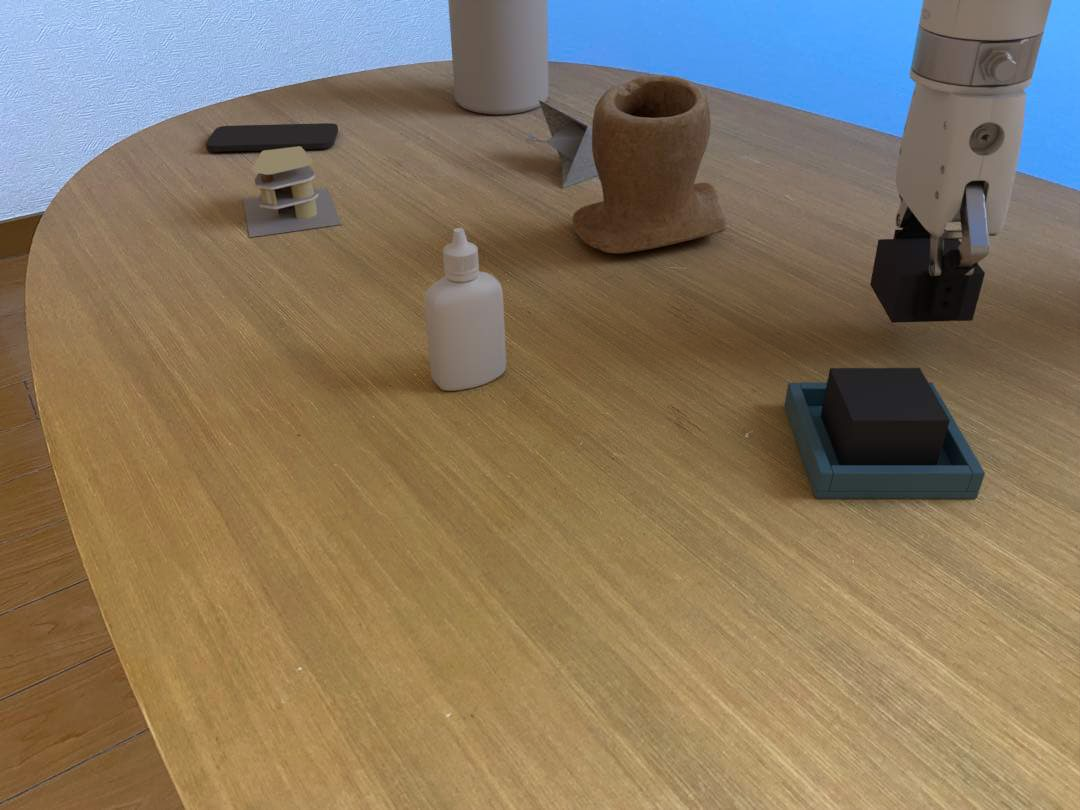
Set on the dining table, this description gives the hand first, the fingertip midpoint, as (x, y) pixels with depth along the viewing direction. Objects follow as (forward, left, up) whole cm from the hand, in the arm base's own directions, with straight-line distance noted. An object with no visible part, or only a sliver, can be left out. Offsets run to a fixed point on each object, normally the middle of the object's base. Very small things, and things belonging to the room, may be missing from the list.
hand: (921, 295), depth 72 cm
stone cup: (+19, -19, -4) cm, 27 cm away
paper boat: (+27, -38, -4) cm, 47 cm away
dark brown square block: (+7, +14, -3) cm, 16 cm away
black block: (0, 0, -1) cm, 1 cm away
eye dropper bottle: (+35, +5, -4) cm, 35 cm away
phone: (+63, -47, -4) cm, 78 cm away
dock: (+7, +14, -4) cm, 16 cm away
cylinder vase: (+36, -62, -4) cm, 72 cm away
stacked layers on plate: (+56, -26, -4) cm, 61 cm away
